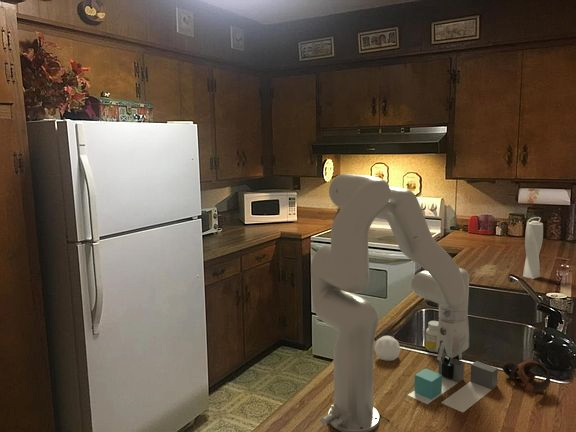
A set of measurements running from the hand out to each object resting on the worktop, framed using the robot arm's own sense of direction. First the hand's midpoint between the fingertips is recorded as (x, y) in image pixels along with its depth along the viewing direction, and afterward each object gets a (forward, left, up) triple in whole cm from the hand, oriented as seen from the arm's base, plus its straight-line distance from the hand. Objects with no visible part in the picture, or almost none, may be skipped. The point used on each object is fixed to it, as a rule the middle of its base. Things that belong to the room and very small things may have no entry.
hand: (450, 374), depth 135 cm
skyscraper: (+113, +23, -2) cm, 115 cm away
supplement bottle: (+13, +13, -2) cm, 18 cm away
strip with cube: (-8, 0, -2) cm, 8 cm away
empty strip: (-4, -8, -2) cm, 9 cm away
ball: (-2, +20, -2) cm, 20 cm away
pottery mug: (+12, -15, -2) cm, 20 cm away
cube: (-12, 0, -1) cm, 12 cm away
